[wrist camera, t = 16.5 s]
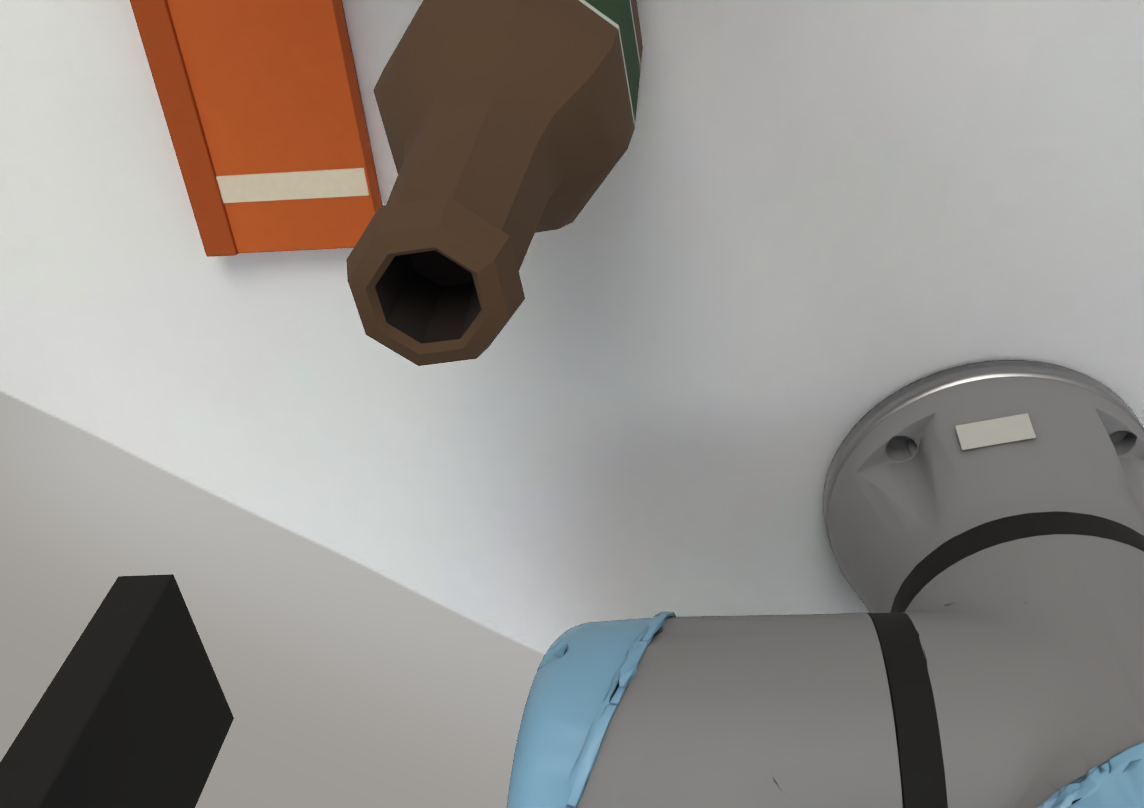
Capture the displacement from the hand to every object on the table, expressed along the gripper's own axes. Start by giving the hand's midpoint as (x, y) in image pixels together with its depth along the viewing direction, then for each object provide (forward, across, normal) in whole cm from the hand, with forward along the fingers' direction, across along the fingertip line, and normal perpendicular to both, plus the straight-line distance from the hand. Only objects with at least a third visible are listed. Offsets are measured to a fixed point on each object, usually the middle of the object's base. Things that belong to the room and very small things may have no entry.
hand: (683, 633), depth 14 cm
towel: (+33, +17, -2) cm, 37 cm away
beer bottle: (+33, +5, 0) cm, 34 cm away
